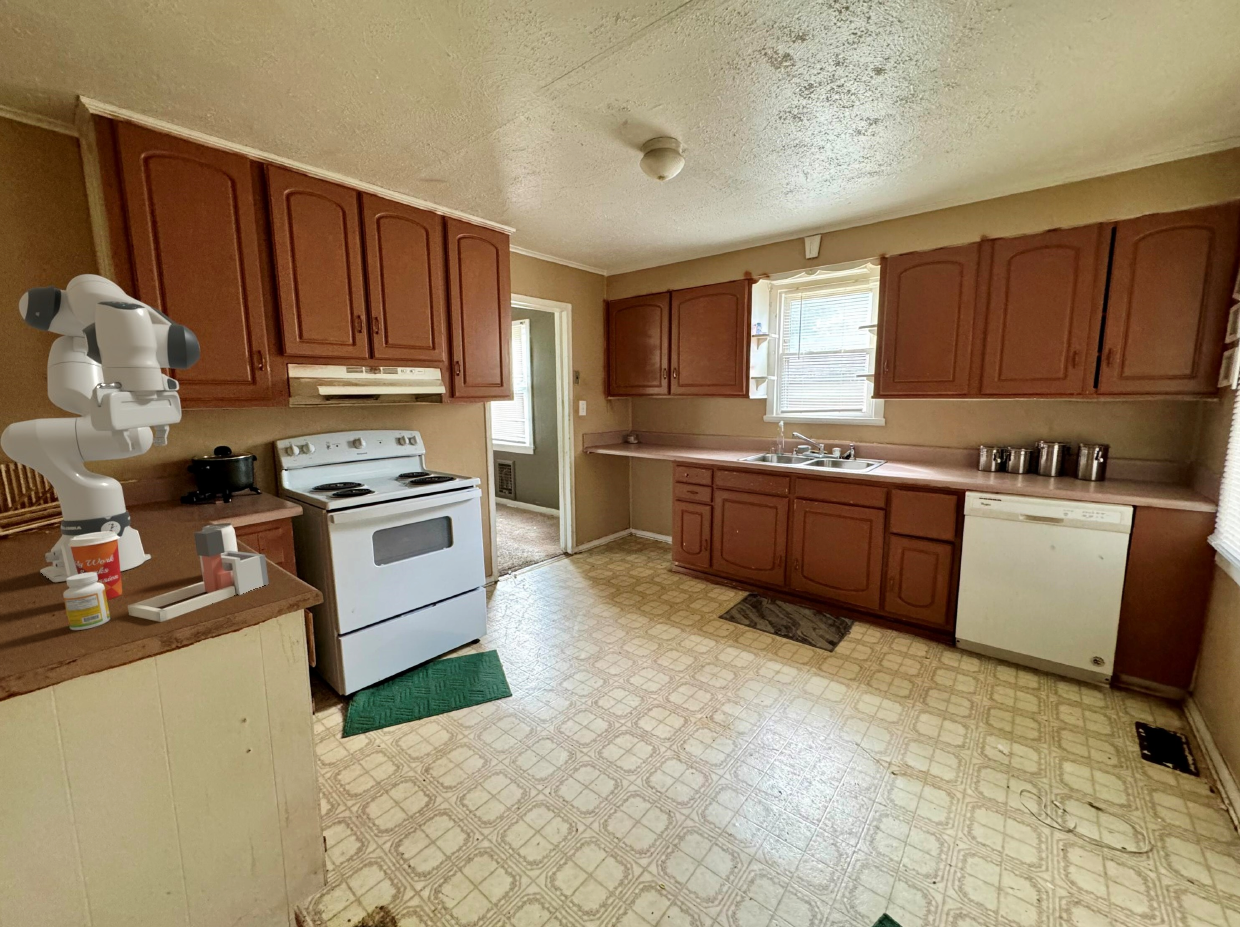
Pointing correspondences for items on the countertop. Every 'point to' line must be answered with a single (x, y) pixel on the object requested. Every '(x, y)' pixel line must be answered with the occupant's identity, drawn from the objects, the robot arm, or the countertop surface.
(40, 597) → the countertop surface
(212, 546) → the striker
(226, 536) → the can
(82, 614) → the supplement bottle
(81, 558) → the paper cup
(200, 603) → the white flat open frame
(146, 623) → the countertop surface
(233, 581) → the ball
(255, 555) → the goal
